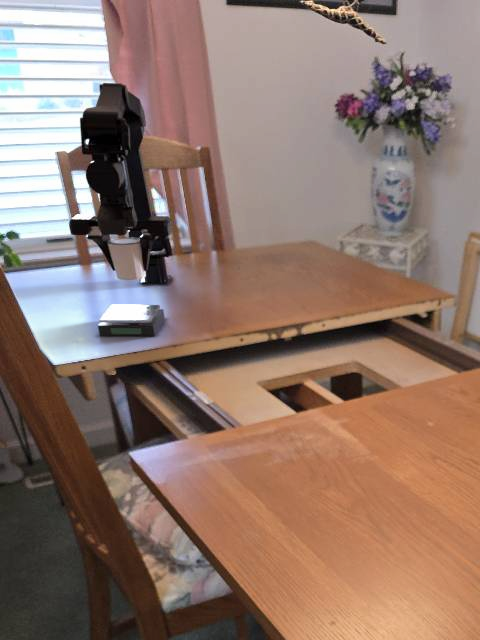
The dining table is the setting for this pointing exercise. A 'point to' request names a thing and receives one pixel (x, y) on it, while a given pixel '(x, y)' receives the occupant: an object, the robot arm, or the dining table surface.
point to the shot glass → (127, 258)
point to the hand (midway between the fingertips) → (130, 270)
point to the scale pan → (130, 314)
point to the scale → (133, 327)
